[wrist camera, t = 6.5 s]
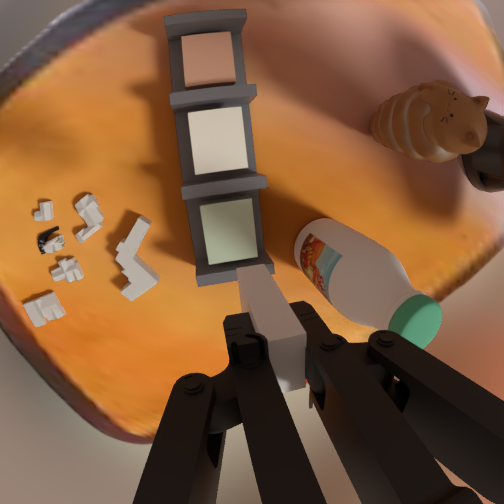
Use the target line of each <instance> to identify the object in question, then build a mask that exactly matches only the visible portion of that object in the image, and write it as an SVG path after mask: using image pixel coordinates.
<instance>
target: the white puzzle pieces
mask: <svg viewBox="0 0 504 504" xmlns="http://www.w3.org/2000/svg"><path fill="white" fill-rule="evenodd" d="M39 204H40V211H36V212H35V213H34V219H35V221H46V220H51V219H53V218H54V214H53V205H52V201H46V202H41V203H39ZM99 205H100V204H99V202H98V201H97V199H96V198H95V196H94V195H93V194H92V195H90V194H87V195H86V196H85V197H83V198H82V199H81V200H80V201H79V202H78V203H77V204H76V205H75V207H76V209H77V212H78V214H79V215H80V216H81V217H82V218H83V219H84V221H85V222H86V224H87V225H88V227H87V228H83V229H82V230H81V231H80V232H78V233H77V234H76V235H75V236H76V238H77V239H78V241H79V242H80V243H82V242H83V241H85V240H86V239H87V238H88V237H89V236H91V235H92V234H93V233H94V232H96V231H97V230H98V229H99V228H101V227H102V226H103V224H102V222H101V221H102V220H104V219H103V217H104V215H103V213H102V212H101V210H100V209H99V207H98V206H99ZM151 223H152V221H150V220H149V219H147V218H146V217H144V216H143V215H141V216H140V217H139V218H138V220H137V221H136V223H135V225H134V227H133V228H132V230H131V232H130V234H129V235H128V237H127V238H123V239H122V240H121V241H120V243H119V245H118V246H117V248H116V251H119V253H118V255H117V257H116V259H115V260H116V261H117V262H118V263H119V264H120V265H121V266H122V267H123V270H122V271H121V272H122V273H123V274H125V275H126V276H127V277H128V281H129V282H128V283H127V284H126V285H124V286H123V288H122V290H121V292H120V293H122V294H123V295H124V296H125V297H126V298H127V299H129V300H130V301H131V302H132V301H133V300H135V299H136V298H137V297H139V296H140V295H142V294H143V293H144V292H146V291H147V290H149V289H150V288H151V287H153V286H154V285H156V284H157V283H158V282H159V279H160V276H159V275H158V274H157V273H156V272H155V271H154V270H153V269H151V268H150V267H149V266H148V265H147V264H146V263H145V262H144V261H143V260H142V259H141V258H140V257H139V256H138V255H137V254H136V252H137V250H138V248H139V246H140V244H141V242H142V240H143V238H144V236H145V234H146V232H147V230H148V228H149V227H150V225H151ZM57 230H59V227H58V226H57V227H55V228H53V229H51V230H49V231H47V232H45V233H43V234H42V235H40V236H39V238H38V246H39V249H40V251H41V254H44V253H47V252H48V253H49V254H50V253H52V252H57V251H58V250H60V249H62V248H63V247H65V246H63V247H62V245H63V244H64V239H63V238H64V235H63V234H62V235H60V236H57V237H55V238H53V239H51V240H49V241H47V238H48V236H49V235H50V234H51V233H53V232H55V231H57ZM44 251H45V252H44ZM58 264H59V266H60V267H57V268H55V269H53V270H52V271H51V273H52V278H53V279H54V280H55V281H56V282H57V281H60V280H62V279H66V281H67V283H70V282H72V281H73V280H76V281H79V280H80V279H82V278H83V277H84V274H83V272H82V270H81V267H80V265H79V262H78V261H76V259H75V257H73V258H71V259H67V258H64V259H62V260H60V261H59V262H58ZM23 306H24V308H25V310H26V312H27V313H28V315H29V317H30V319H31V320H32V322H33V324H34V325H35V327H39V326H42V325H45V324H46V323H47V321H46V319H45V318H47V319H48V321H50V320H53V319H58V318H60V317H62V316H64V315H65V314H66V312H65V311H64V309H63V307H62V305H61V303H60V302H59V300H58V298H57V296H56V294H55V292H54V291H53V292H50V293H48V294H45V295H43V296H40V297H38V298H35V299H33V300H31V301H28V302H26V303H24V304H23Z"/></svg>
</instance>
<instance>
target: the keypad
mask: <svg viewBox="0 0 504 504" xmlns="http://www.w3.org/2000/svg"><path fill="white" fill-rule="evenodd" d="M246 19H247V13H246V9H223V10H209V11H199V12H190V13H182V14H175V15H169V16H164V24H165V29H166V33H167V37H168V41H169V56H170V70H171V82H172V93H170V94H169V97H170V106H171V108H172V109H173V111H174V114H175V123H176V132H177V140H178V148H179V156H180V164H181V171H182V178H183V184H182V186H181V187H180V188H181V194H182V200H186V205H187V211H188V218H189V224H190V230H191V236H192V241H193V247H194V253H195V258H196V279H197V284H198V287H201V286H207V285H213V284H219V283H225V282H231V281H237V280H238V277H237V269H236V268H241V267H247V266H253V265H259V264H265V266H266V268H267V269H268V271H269V272H270V274H271V275H272V274H275V270H274V263H273V261H272V260H271V258H270V257H269V255H268V254H267V253H266V251H265V250H264V240H263V230H262V220H261V210H260V200H259V191H258V189H262V188H267V182H266V175H262V174H259V173H257V172H256V162H255V153H254V144H253V135H252V126H251V117H250V108H249V103H250V102H251V101H252V100H253V99H254V98H255V97H256V96H257V91H256V84H247V83H246V74H245V66H244V58H243V49H242V41H241V32H242V29H243V27H244V24H245V22H246ZM217 32H231V41H232V49H233V58H234V67H235V75H236V83H235V84H234V85H232V86H221V87H212V88H203V89H196V90H189V91H186V87H185V77H184V65H183V53H182V39H181V36H189V35H197V34H206V33H217ZM230 107H241V108H242V117H243V126H244V134H245V143H246V152H247V161H248V168H241V169H233V170H225V171H218V172H211V173H204V174H198V175H195V169H194V161H193V153H192V145H191V137H190V129H189V120H188V113H190V112H197V111H204V110H212V109H221V108H230ZM245 195H248V196H249V197H250V198H252V207H253V216H254V225H255V235H256V244H257V253H258V257H253V258H247V259H241V260H235V261H229V262H223V263H216V264H210V265H209V261H208V255H207V249H206V243H205V237H204V231H203V224H202V218H201V211H200V202H204V201H210V200H217V199H224V198H231V197H238V196H245Z"/></svg>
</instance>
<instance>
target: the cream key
mask: <svg viewBox="0 0 504 504" xmlns="http://www.w3.org/2000/svg"><path fill="white" fill-rule="evenodd" d="M188 120H189V129H190V137H191V145H192V153H193V161H194V169H195V175H198V174H204V173H211V172H218V171H225V170H233V169H241V168H248V161H247V152H246V143H245V134H244V126H243V117H242V108H241V107H230V108H221V109H212V110H204V111H197V112H190V113H188Z"/></svg>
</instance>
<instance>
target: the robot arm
mask: <svg viewBox="0 0 504 504" xmlns="http://www.w3.org/2000/svg"><path fill="white" fill-rule="evenodd" d="M483 113H484V115H485V117H486V121H487V136H486V139H485V141H484V143H483V145H482V146H481V147H480V148H479V149H477V150H476V151H474V152H471V153H468V154H462V157H463V162H464V167H465V170H466V173H467V175H468V178H469V180H470V181H471V183H472V184H473V185H474V187H476V188H477V189H479V190H481V191H485V192H498V191H504V116H501V115H499V114H497V113H494V112H492V111H490V110H484V111H483ZM236 269H237V277H238V285H239V292H240V300H241V307H242V313H240V314H234V315H228V316H226V318H225V320H224V322H223V326H224V332H225V337H226V343H227V349H228V355H229V364H228V366H227V368H226V369H225V370H224V371H223V372H221V373H219V374H218V375H215V376H213V377H211V378H210V377H209V376H207V375H205V374H201V373H190V374H187V375H184V376H182V377H181V378H179V379H178V380H177V381H176V383H175V384H174V386H173V389H172V391H171V394H170V397H169V399H168V402H167V405H166V408H165V410H164V413H163V416H162V419H161V422H160V424H159V427H158V430H157V433H156V436H155V439H154V441H153V444H152V447H151V450H150V453H149V456H148V459H147V462H146V465H145V467H144V470H143V474H142V476H141V479H140V483H139V486H138V489H137V491H136V495H135V497H134V501H133V504H216V498H217V491H218V484H219V477H220V471H221V465H222V458H223V451H224V445H225V438H226V430H228V429H230V428H232V427H234V426H237V425H239V424H241V423H243V427H244V431H245V435H246V440H247V444H248V448H249V453H250V457H251V461H252V465H253V469H254V473H255V477H256V481H257V485H258V489H259V493H260V497H261V501H262V504H327V503H326V500H325V498H324V496H323V493H322V491H321V488H320V486H319V484H318V481H317V479H316V476H315V474H314V472H313V469H312V467H311V464H310V462H309V459H308V457H307V454H306V452H305V449H304V447H303V444H302V442H301V439H300V437H299V434H298V432H297V429H296V427H295V424H294V422H293V419H292V416H291V414H290V411H289V409H288V406H287V404H286V401H285V398H284V396H283V393H284V392H289V391H293V390H297V389H300V388H305V387H306V379H307V381H308V383H309V385H310V393H309V408H312V406H313V403H314V405H315V408H316V410H317V412H318V414H319V416H320V418H321V420H322V422H323V424H324V426H325V429H326V431H327V433H328V435H329V437H330V439H331V441H332V443H333V445H334V447H335V449H336V451H337V453H338V455H339V457H340V460H341V462H342V464H343V466H344V468H345V470H346V472H347V474H348V476H349V478H350V480H351V482H352V484H353V486H354V488H355V490H356V492H357V495H358V497H359V499H360V501H361V503H362V504H483V503H482V501H481V500H480V498H479V497H478V496H477V494H476V493H475V492H474V491H473V490H472V489H470V488H468V487H459V486H455V485H453V484H452V483H451V481H450V480H449V478H448V477H447V476H446V475H445V473H444V471H443V470H442V469H441V467H440V466H439V464H438V463H437V462H436V460H435V459H437V460H438V461H439V462H441V463H442V464H443V465H444V466H445V467H447V468H448V469H449V470H450V471H451V472H453V473H454V474H455V475H457V476H458V477H459V478H460V479H462V480H463V481H464V482H465V483H467V484H468V485H469V486H470V487H472V488H473V489H474V490H476V491H477V492H478V493H479V494H481V495H482V496H483V497H485V498H486V499H488V500H489V501H491V502H493V503H495V504H504V401H503V400H501V399H500V398H498V397H497V396H495V395H493V394H492V393H490V392H489V391H487V390H486V389H484V388H483V387H481V386H480V385H478V384H476V383H475V382H473V381H471V380H470V379H469V378H467V377H465V376H464V375H462V374H461V373H459V372H458V371H456V370H454V369H453V368H451V367H450V366H448V365H447V364H445V363H443V362H442V361H440V360H439V359H437V358H436V357H434V356H432V355H431V354H429V353H428V352H426V351H425V350H423V349H421V348H420V347H418V346H417V345H415V344H413V343H412V342H410V341H409V340H407V339H406V338H404V337H402V336H401V335H399V334H398V333H395V332H393V331H389V330H379V331H376V332H373V333H372V334H371V335H370V337H369V339H368V342H363V343H348V342H347V340H346V339H345V338H344V337H342V336H340V335H338V334H332V332H331V331H330V330H329V328H328V327H327V326H326V324H325V323H324V322H323V320H322V319H321V318H320V316H319V315H318V313H316V311H315V309H314V308H313V307H312V305H310V304H308V303H306V302H305V301H299V302H294V303H289V304H288V302H287V300H286V299H285V297H284V295H283V294H282V292H281V290H280V289H279V287H278V286H277V284H276V282H275V281H274V279H273V277H272V276H271V274H270V272H269V271H268V269H267V268H266V266H265V264H259V265H253V266H247V267H241V268H236ZM394 376H396V377H397V378H398V379H400V381H397V380H395V379H394ZM434 458H435V459H434Z"/></svg>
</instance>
